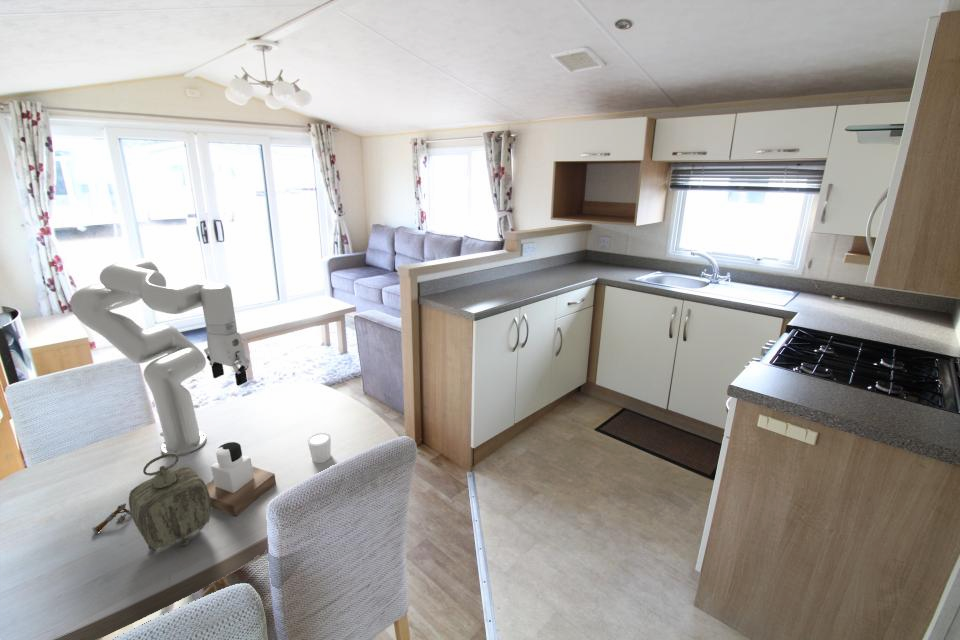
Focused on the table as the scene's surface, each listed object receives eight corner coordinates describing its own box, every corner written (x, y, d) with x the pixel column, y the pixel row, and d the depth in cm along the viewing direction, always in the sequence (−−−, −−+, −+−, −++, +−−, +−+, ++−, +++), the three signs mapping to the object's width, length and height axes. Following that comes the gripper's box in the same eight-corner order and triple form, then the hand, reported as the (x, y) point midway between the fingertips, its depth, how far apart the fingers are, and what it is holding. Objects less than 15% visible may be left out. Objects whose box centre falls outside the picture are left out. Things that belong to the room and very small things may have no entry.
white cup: (325, 465, 139) (323, 446, 137) (305, 462, 141) (303, 443, 138) (336, 452, 146) (334, 434, 143) (317, 449, 147) (315, 431, 145)
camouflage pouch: (206, 515, 119) (187, 436, 111) (220, 533, 114) (201, 450, 105) (141, 549, 108) (115, 464, 100) (154, 570, 103) (127, 482, 95)
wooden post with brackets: (137, 511, 119) (125, 503, 116) (106, 538, 114) (93, 530, 111) (134, 508, 120) (122, 500, 117) (104, 535, 115) (90, 527, 112)
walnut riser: (198, 502, 124) (195, 491, 122) (240, 471, 136) (238, 461, 135) (235, 516, 119) (233, 506, 118) (276, 483, 131) (274, 473, 130)
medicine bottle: (236, 471, 131) (229, 436, 126) (254, 477, 128) (248, 442, 124) (214, 487, 124) (206, 451, 120) (233, 494, 122) (226, 457, 118)
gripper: (254, 328, 128) (261, 381, 134) (212, 317, 134) (221, 368, 140) (231, 336, 121) (240, 392, 127) (188, 325, 127) (198, 378, 133)
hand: (230, 379), depth 133 cm, fingers open, 9 cm apart
